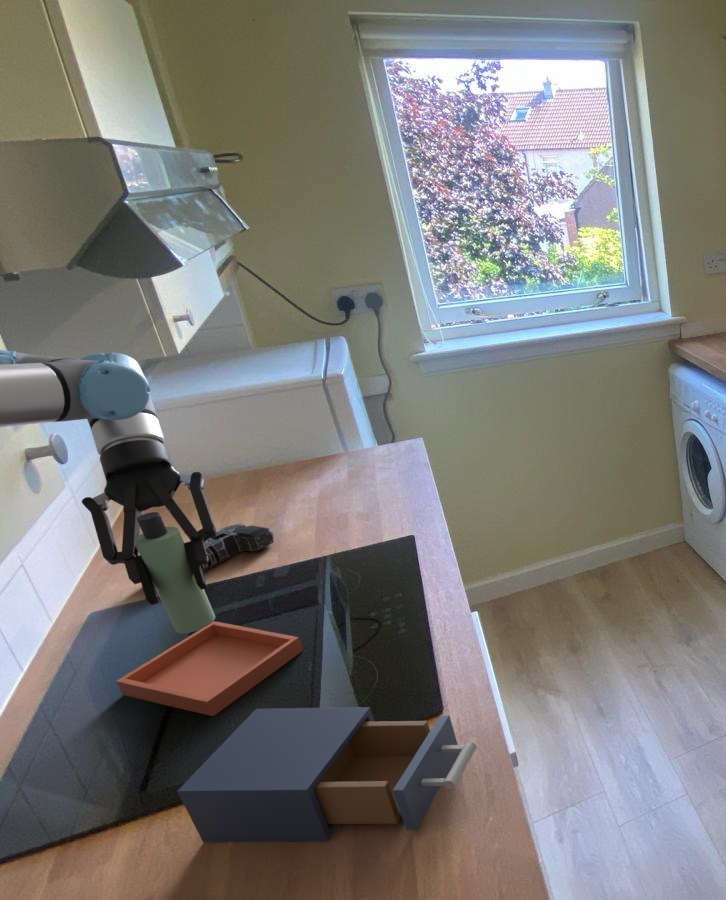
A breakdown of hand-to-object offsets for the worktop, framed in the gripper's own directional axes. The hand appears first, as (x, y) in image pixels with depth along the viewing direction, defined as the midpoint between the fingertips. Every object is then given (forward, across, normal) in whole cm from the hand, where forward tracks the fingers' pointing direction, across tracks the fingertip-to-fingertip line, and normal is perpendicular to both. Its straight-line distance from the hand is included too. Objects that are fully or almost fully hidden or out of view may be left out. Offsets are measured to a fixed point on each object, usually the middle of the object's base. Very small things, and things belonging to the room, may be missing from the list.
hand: (177, 593), depth 102 cm
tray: (+9, 0, -14) cm, 17 cm away
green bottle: (+3, 0, -8) cm, 8 cm away
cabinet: (+34, -7, +11) cm, 36 cm away
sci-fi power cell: (-19, -1, -42) cm, 46 cm away
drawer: (+39, -16, +18) cm, 46 cm away
